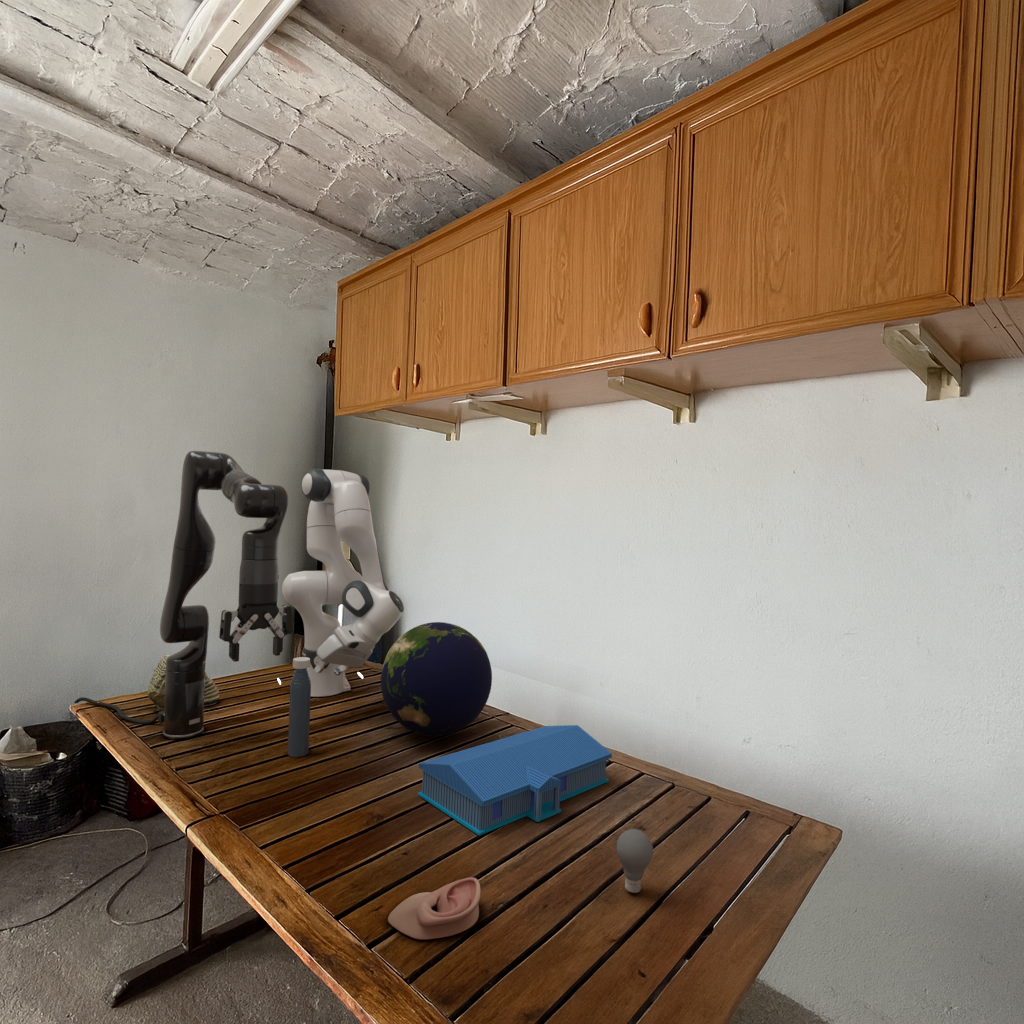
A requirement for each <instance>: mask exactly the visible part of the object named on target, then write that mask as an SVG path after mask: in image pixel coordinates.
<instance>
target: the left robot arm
mask: <svg viewBox="0 0 1024 1024" xmlns="http://www.w3.org/2000/svg"><path fill="white" fill-rule="evenodd" d="M204 490H206V491H221V493H222V495H223V496H224V497H225V499H227V500H228V501H229V502H231V503H232V504H233V506H234V510H235V512H236V514H237V515H238V516H240V517H242V518H246V519H265V521H264V523H263V524H262V525H261V526H260V527H258V528H253V529H248V530H246V531H244V533H243V534H242V538H241V559H240V566H239V576H238V580H239V581H238V606H237V609H236V610H228V609H223V610H222V611H221V613H220V622H219V623H220V626H219V635H218V638H219V639H220V640H222V641H223V642H228V657H229V659H231V661H232V662H234V663H235V662H240V644H241V643H239V642H240V641H241V639H242V638H243V636H244V635H246V634H247V633H248V631H249V630H250V631H256V630H258V629H260V630H267V628H268V629H269V631H271V633H272V634H273V635H274V636H273V637H272V655H274V656H276V657H277V656H278V657H279V656H280V655H281V653H282V652H283V650H284V648H283V646H284V637H286V636H287V635H291V634H292V633H293V606H290V605H287V604H282V606H278V594H279V592H278V591H279V579H280V575H279V561H278V560H279V559H278V557H279V539H280V535H281V532H282V527H283V525H284V521H285V518H286V516H287V513H288V509H289V506H290V505H289V504H290V497H289V494H288V491H287V490H286V489H285V487H283V486H282V485H278V484H262V482H261V481H260V480H259V479H257V478H256V477H254V476H252V475H251V474H248V473H246V472H245V471H244V469H243V468H242V467H241V466H240V465H239V463H238V462H237V461H236V460H235V459H234V458H233V457H232V456H231V455H229V454H227V453H224V452H216V451H205V450H204V451H203V450H191V451H188V452H187V453H186V455H185V457H184V460H183V463H182V471H181V483H180V500H179V509H178V510H179V512H178V518H177V524H176V530H175V535H174V542H173V546H172V554H171V563H170V564H171V565H170V572H169V579H168V586H167V590H166V594H165V599H164V603H163V608H162V611H161V616H160V622H159V634H160V635H159V636H160V638H161V640H162V641H163V642H164V643H166V644H178V643H188V644H187V645H186V646H184V647H183V648H182V649H180V650H179V651H177V652H175V653H173V654H170V655H171V656H169V657H168V658H167V660H166V674H165V705H164V710H162V711H158V712H157V715H155V716H154V717H153V718H152V719H148V720H141V719H137V718H133V717H130V716H128V715H125V714H124V713H123V711H122V710H121V708H120V707H119V706H117V705H115V704H111V703H108V702H103V701H102V702H101V701H98V700H94V699H91V698H89V697H83V696H81V697H78V698H77V699H76V700H74V701H73V704H78V703H80V702H86V703H89V704H91V705H95V706H101V707H105V708H109V709H112V710H114V711H115V712H116V713H117V715H118V717H119V718H120V719H122V720H125V721H127V722H130V723H133V724H140V725H151V724H154V723H156V722H157V721H158V722H159V723H160V724H163V730H162V737H164V738H166V739H169V740H185V739H190V738H191V739H192V738H194V737H197V736H199V735H202V734H203V732H204V730H205V729H204V726H205V725H204V722H205V721H204V718H205V706H204V693H205V672H206V664H207V663H206V660H207V653H208V640H209V633H210V631H209V630H210V615H209V614H210V613H209V610H208V609H207V607H206V606H205V605H203V604H194V605H193V604H192V605H183V604H184V603H185V600H186V598H187V596H188V595H189V593H190V592H191V590H192V589H193V588H194V587H195V586H196V585H197V584H198V583H199V581H200V580H201V579H202V578H203V577H204V576H205V575H206V573H208V571H209V570H210V568H211V566H212V564H213V561H214V554H215V548H216V536H215V534H214V531H213V529H212V526H210V524H209V522H208V521H207V519H206V517H205V516H204V513H203V511H202V508H201V507H200V506H201V505H200V503H199V492H200V491H204ZM278 615H279V616H281V626H282V627H281V628H280V626H279V624H278V623H277V622H276V620H275V619H276V617H277V616H278ZM235 618H237V619H238V622H237V624H236V626H234V629H233V631H231V630H232V623H233V622H234V621H235ZM97 702H99V703H97Z"/></svg>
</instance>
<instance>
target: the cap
mask: <svg viewBox="0 0 1024 1024" xmlns="http://www.w3.org/2000/svg"><path fill="white" fill-rule="evenodd" d="M309 667H310V658H308V657H303V656H299V657H294V658H292V668H293V669H295V668H296V669H305V668H309Z"/></svg>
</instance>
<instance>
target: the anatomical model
mask: <svg viewBox="0 0 1024 1024" xmlns="http://www.w3.org/2000/svg"><path fill="white" fill-rule="evenodd" d="M481 894H482V893H481V884H480V881H479V880H478V879H477V878H476V877H464V878H461V879H458V880H455V881H453V882H450V883H448V884H446V885H443V886H441V887H440V888H437V889H435V890H433V891H431V892H430V891H426V892H425V891H424V892H418V893H415V894H413V895H410V896H408V897H407V898H406V899H404V900H403V901H401V902H400V903H398V905H397V906H396V907H394V909H393V910H392V911H391V912H390V913H389V915H388V917H387V922H388V924H389V925H391V927H393V928H394V929H396V930H397V931H398V932H400V933H401V934H404V935H405V936H407V937H410V938H412V939H414V940H433V939H440V938H446V937H451V936H454V935H457V934H460V933H463V932H464V931H467V930H468V929H470V928H472V927H473V926H474V925H475V924H476V923H477V922H478V920H479V917H480V916H479V915H480V907H479V903H480V900H481Z"/></svg>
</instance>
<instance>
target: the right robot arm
mask: <svg viewBox="0 0 1024 1024" xmlns="http://www.w3.org/2000/svg"><path fill="white" fill-rule="evenodd" d="M370 491H371V484H370V482H369V479H368V478H367V477H366V476H365V475H363V474H361V473H358V472H355V473H354V472H352V471H351V472H350V471H347V470H341V469H323V468H317V467H316V468H310V469H308V470H307V471H306V472H305V473H304V475H303V477H302V480H301V492H302V494H303V496H304V497H305V499H306V500H309V501H310V502H309V506H308V509H307V511H308V512H307V516H306V517H307V518H306V551H307V553H308V555H309V556H310V557H311V558H313V559H314V560H317V561H319V562H321V563H322V564H323V565H324V566H325V569H324V570H301V571H296V572H292V573H289V574H287V576H286V577H285V578H284V580H283V582H282V586H281V592H282V596H283V598H284V599H285V601H286V602H287V603H288V604H290V605H291V607H293V608H294V609H295V610H296V611H297V612H298V613H299V615H300V617H301V619H302V623H303V630H304V645H303V647H302V657H308V658H310V667H309V668H307V671H308V674H309V677H310V680H311V697H312V698H313V697H314V698H315V697H316V698H317V697H330V696H334V695H338V694H341V693H345V692H349V691H351V685H350V683H349V680H348V679H347V675H346V671H348V670H349V669H351V668H356V669H358V668H360V667H362V666H363V665H364V664H365V662H367V660H368V659H369V658H370V657H371V656H372V654H373V652H374V649H375V647H376V644H377V643H378V642H379V641H380V640H381V637H382V636H383V635H385V634H386V633H388V632H389V631H390V630H391V629H392V628H393V627H394V626H395V624H396V623H397V622H398V621H399V619H400V618H401V617H402V615H403V614H404V610H405V607H404V603H403V601H402V599H401V598H400V597H399V596H398V595H397V594H396V593H395V592H394V591H393V590H390V589H389V588H388V586H387V585H386V581H385V578H384V571H383V568H382V567H383V566H382V563H381V556H380V551H379V547H378V544H377V539H376V536H375V531H374V524H373V517H372V509H371V503H370V500H369V496H370ZM343 543H344V545H346V546H347V547H348V548H350V550H351V551H352V552H353V553H354V554H355V556H356V557H357V559H358V562H359V566H360V570H361V573H360V572H358V571H357V570H356V569H354V568H353V567H352V566H351V564H350V563H349V561H348V560H347V558H346V556H345V553H344V547H343ZM326 605H343V606H344V608H345V609H346V610H348V612H350V613H351V614H352V615H354V616H355V617H356V620H355V621H354V622H353V623H350V624H347V625H341V623H340V621H339V619H337V618H336V617H334V616H332V615H330V614H328V613H326V612H324V611H323V606H326ZM357 675H358V676H359V677H360V678H361V679H362V680H363V679H364V676H363V674H362V673H361V672H359V671H357ZM277 682H278V684H279V686H280V685H282V681H281V679H280V678H279V677H277Z"/></svg>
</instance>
